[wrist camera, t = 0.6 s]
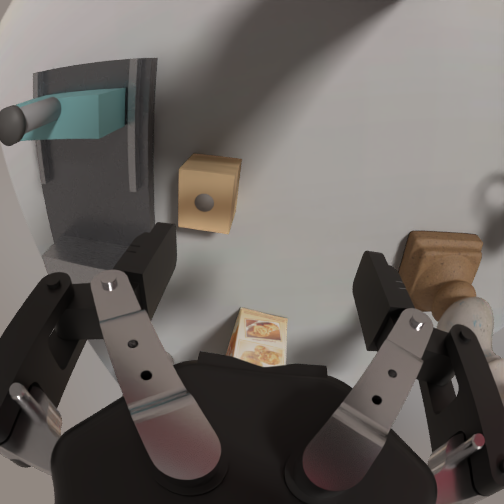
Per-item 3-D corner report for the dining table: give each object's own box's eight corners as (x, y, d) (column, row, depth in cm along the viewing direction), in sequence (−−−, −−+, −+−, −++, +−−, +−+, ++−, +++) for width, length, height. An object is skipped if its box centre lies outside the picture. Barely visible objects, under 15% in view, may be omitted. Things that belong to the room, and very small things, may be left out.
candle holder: (453, 297, 37) (509, 441, 18) (389, 299, 38) (430, 467, 19) (478, 234, 31) (572, 383, 11) (409, 229, 32) (496, 416, 13)
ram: (45, 90, 24) (-28, 115, 15) (125, 82, 24) (52, 100, 15) (47, 127, 27) (-22, 162, 18) (124, 126, 27) (57, 162, 18)
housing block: (193, 153, 30) (178, 169, 26) (241, 158, 30) (234, 176, 26) (191, 204, 33) (177, 227, 29) (235, 210, 33) (228, 234, 29)
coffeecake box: (239, 305, 41) (215, 440, 25) (289, 317, 42) (285, 451, 26) (221, 363, 50) (200, 468, 34) (261, 372, 50) (250, 477, 34)
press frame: (41, 71, 24) (3, 80, 19) (157, 58, 24) (127, 58, 19) (65, 261, 40) (43, 288, 35) (158, 280, 40) (142, 314, 35)
